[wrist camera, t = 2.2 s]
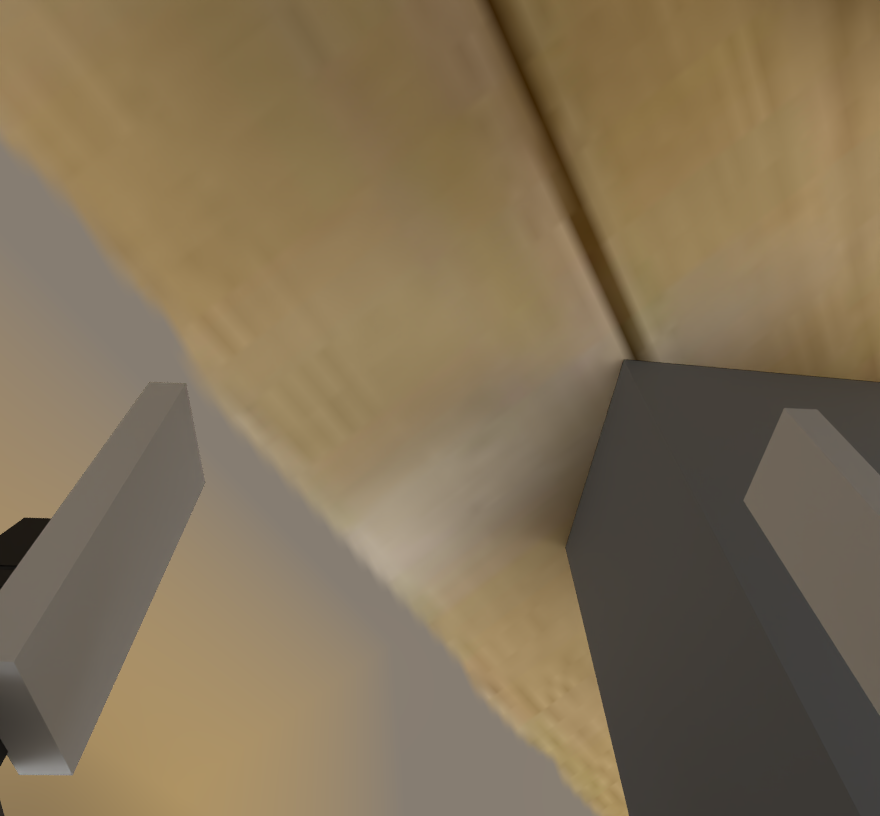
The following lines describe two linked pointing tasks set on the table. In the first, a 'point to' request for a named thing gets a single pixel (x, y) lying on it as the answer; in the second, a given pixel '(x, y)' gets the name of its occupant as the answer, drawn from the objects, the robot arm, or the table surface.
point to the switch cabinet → (715, 603)
